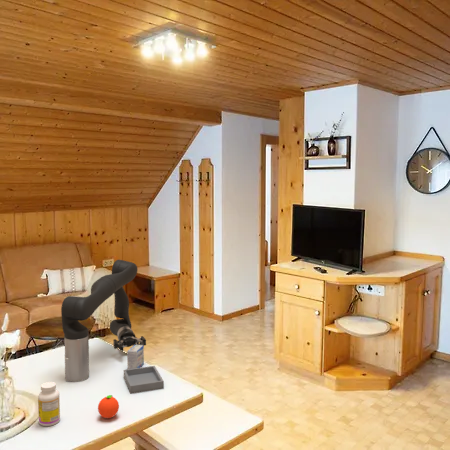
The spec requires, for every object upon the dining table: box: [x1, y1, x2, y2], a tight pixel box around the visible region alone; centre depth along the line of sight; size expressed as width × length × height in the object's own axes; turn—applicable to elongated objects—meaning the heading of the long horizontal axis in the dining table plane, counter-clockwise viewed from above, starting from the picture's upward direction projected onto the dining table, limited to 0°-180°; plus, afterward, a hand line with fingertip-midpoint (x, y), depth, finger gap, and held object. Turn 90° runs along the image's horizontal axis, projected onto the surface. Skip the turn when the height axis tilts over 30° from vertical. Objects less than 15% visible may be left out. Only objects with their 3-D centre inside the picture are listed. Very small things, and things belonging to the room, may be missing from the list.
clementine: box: [97, 394, 120, 419], centre depth 160 cm, size 8×7×7 cm
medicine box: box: [126, 345, 145, 369], centre depth 201 cm, size 8×4×9 cm, turn 168°
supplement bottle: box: [37, 381, 61, 427], centre depth 156 cm, size 7×7×13 cm
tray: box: [123, 365, 165, 394], centre depth 186 cm, size 13×16×3 cm
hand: (132, 347), depth 208 cm, fingers open, 8 cm apart
